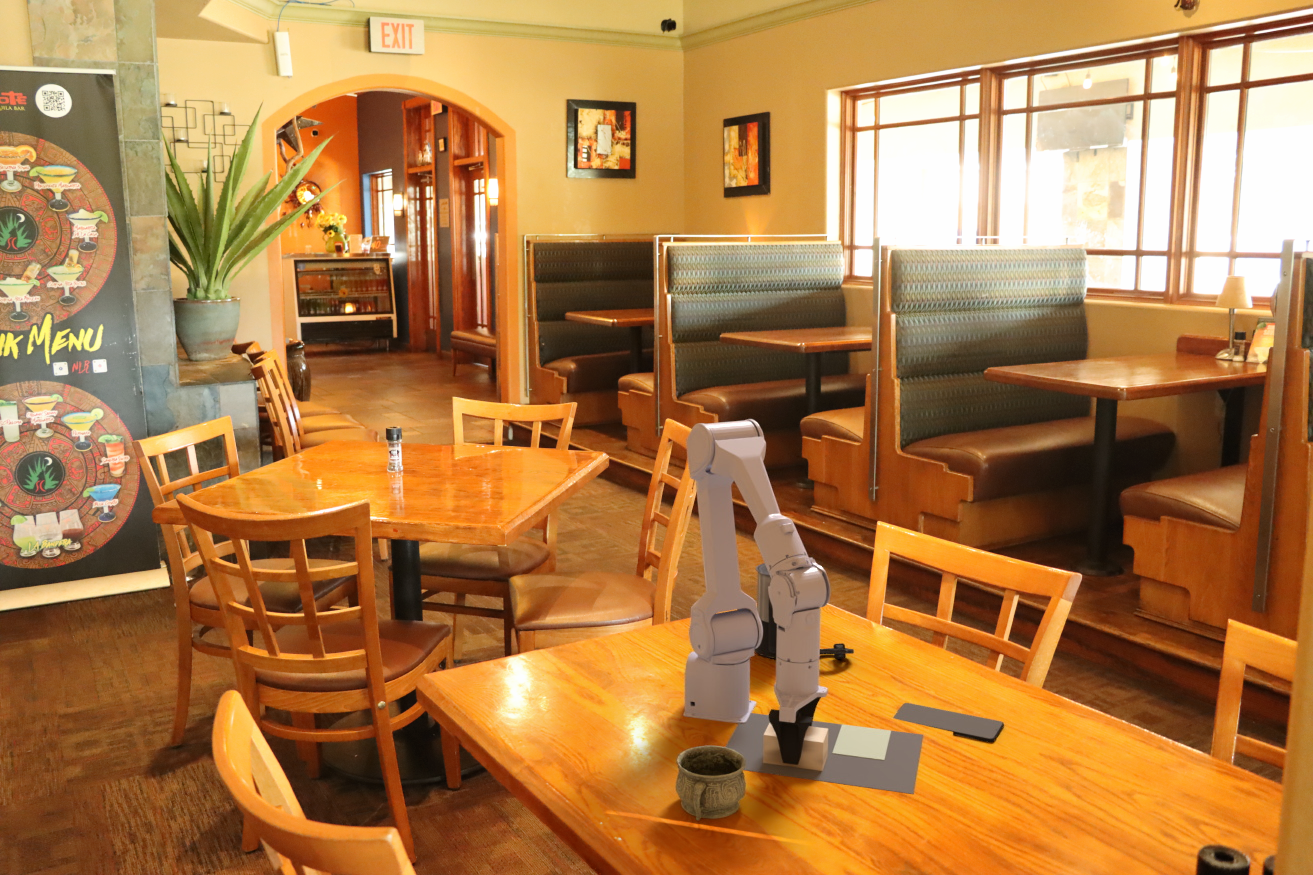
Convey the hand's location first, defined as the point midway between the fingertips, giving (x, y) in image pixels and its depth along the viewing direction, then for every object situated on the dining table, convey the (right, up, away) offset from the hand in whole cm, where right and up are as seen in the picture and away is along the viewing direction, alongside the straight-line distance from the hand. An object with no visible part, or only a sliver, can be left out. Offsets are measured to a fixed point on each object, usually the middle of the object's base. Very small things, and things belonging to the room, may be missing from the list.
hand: (795, 750), depth 148 cm
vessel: (-12, -4, -11) cm, 17 cm away
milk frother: (+6, +5, +40) cm, 40 cm away
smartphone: (+24, 0, +13) cm, 27 cm away
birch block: (0, -1, 0) cm, 1 cm away
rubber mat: (+4, -1, +3) cm, 5 cm away
